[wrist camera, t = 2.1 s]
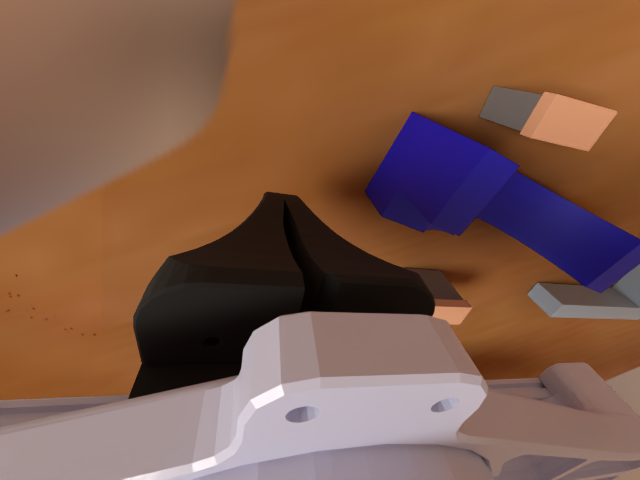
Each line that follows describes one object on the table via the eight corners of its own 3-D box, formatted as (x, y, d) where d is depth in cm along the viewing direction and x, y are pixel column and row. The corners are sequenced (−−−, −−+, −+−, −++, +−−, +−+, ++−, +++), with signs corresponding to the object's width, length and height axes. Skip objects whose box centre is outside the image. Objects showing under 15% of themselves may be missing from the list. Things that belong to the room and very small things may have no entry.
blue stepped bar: (363, 189, 16) (406, 254, 11) (410, 110, 14) (489, 148, 9) (501, 247, 20) (576, 312, 15) (552, 194, 18) (658, 250, 13)
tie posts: (433, 285, 21) (459, 324, 18) (395, 283, 20) (416, 323, 17) (544, 97, 14) (617, 111, 11) (493, 83, 13) (557, 93, 10)
